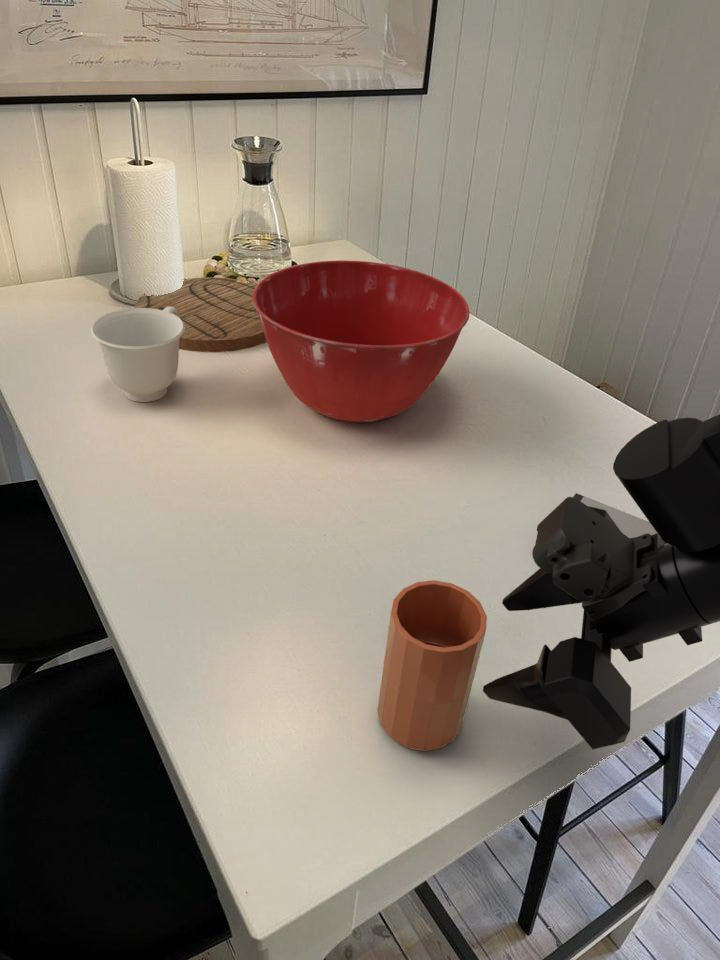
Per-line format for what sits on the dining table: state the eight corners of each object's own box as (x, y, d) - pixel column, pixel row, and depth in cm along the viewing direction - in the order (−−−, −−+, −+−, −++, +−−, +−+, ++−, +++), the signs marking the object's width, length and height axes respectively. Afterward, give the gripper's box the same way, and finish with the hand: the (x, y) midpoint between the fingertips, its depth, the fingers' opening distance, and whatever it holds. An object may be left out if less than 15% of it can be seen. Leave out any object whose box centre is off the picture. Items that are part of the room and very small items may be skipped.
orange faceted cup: (475, 709, 67) (501, 606, 59) (436, 770, 61) (460, 667, 54) (403, 670, 69) (420, 567, 62) (361, 725, 64) (373, 621, 57)
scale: (670, 545, 87) (678, 527, 85) (642, 607, 78) (650, 588, 77) (571, 505, 91) (577, 487, 90) (534, 559, 83) (540, 540, 81)
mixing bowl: (294, 339, 122) (296, 245, 113) (468, 373, 117) (484, 277, 107) (221, 427, 100) (216, 319, 91) (431, 473, 95) (448, 364, 85)
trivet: (211, 367, 112) (211, 356, 111) (103, 316, 123) (101, 305, 122) (317, 317, 129) (318, 307, 128) (213, 276, 140) (213, 266, 139)
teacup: (215, 374, 111) (212, 311, 105) (158, 423, 99) (151, 355, 93) (145, 356, 114) (138, 293, 108) (82, 401, 102) (70, 333, 96)
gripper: (632, 417, 54) (458, 500, 63) (626, 591, 40) (401, 668, 48) (708, 528, 57) (532, 592, 66) (728, 727, 43) (500, 775, 51)
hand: (496, 646), depth 58 cm, fingers open, 9 cm apart
